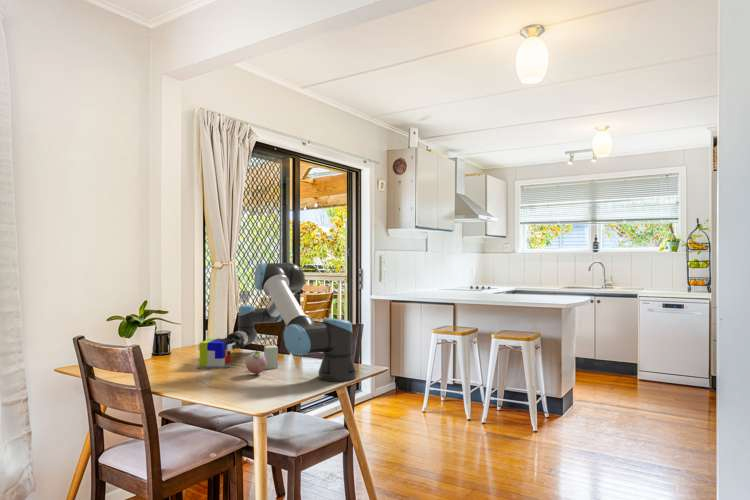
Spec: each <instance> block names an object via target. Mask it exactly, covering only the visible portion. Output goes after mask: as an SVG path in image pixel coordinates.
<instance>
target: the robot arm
mask: <svg viewBox="0 0 750 500" xmlns="http://www.w3.org/2000/svg"><path fill="white" fill-rule="evenodd" d="M253 279H254V287H255V289H256V290H259V291H261V290H262V291H263V293H264V294H265V295H266V296H267V297H270V298H271V300H270V302H269V303H268V305H267V307H262V308H259V307H257V308H255V306H254V305H253V304H242V305H240V306H238V314H237V315H238V316H237V317H238V330H237V331H235V332H231V333H230V334H228V335H227V336H226V337H225V338H223V339H230V344H229V345H227V351H230V352H231V351H233V350H236V349H238V350H239V349H241V350H243V349H244V346H247V345H250V344H252V343H254V342H255V341H256V340H257V338H258V333H257V331H256V329H255V325H256V324H266V323H267V324H270V323H273V324H274V323H278V322H280V323H281V322H282V320H283V322H284V324H285V327H284V328H285V329H284V330H283V341H284V345H285V348H286V351H288V353H289V354H291V355H293V356H308V355H313V354H314V355H315V354H321V353H322V359H321V362H320V363H321V364H320V366H319V369H318V376H317V377H318V379H320V380H321V381H325V382H326V381H327V382H346V381H352V380H355V379H356V378H357V369H356V366H355V363H354V360H353V333H354V332H353V324H352V323H353V322H351V321H350V320H346V319H341V318H340V319H339V318H331V317H324V318H323V320H322V322H315V321H314V319H313V318H312V317H311V316H310V315H308V314H305V312H304V310H303V308H302V307H301V305H300V304H299V302H298V300H297V298H296V296H295V295H296V294H297V293H299V292H300V291H301V290H302V289H303V287H304V285H305V281H306V276H305V273H304V271H303V269H302V268H301V267H300V266H299V265H297V264H295V263H292V262H265V263H264V262H262V263H258V264H257V265H256V268H255V271H254V277H253ZM217 339H221V338H220V337H218V338H217ZM203 341H204V340H202V341H201V342H203ZM198 351H200V343H198Z"/></svg>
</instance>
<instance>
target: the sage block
mask: <svg viewBox="0 0 750 500" xmlns="http://www.w3.org/2000/svg"><path fill="white" fill-rule="evenodd" d="M263 347H264V348H263V351H264V353H263V355H264V356H265V358H266V361H267V363H266V367H265V370H270V369H271V370H274V368H275V369H278V368H279V347H278V346H277V345H276V344H275V345H264V346H263Z"/></svg>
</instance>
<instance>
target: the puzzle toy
mask: <svg viewBox="0 0 750 500" xmlns="http://www.w3.org/2000/svg"><path fill="white" fill-rule="evenodd" d="M202 341H203V342H202ZM202 341H200V342H199V344H200V350H199V365H200V366H224V365H226V364H227V363H229V362H230V360H231V351H227V345H229V344H230V339H224V338H220V339H218V338H216V339H215V338H207V339H205V340H202Z"/></svg>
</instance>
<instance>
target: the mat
mask: <svg viewBox="0 0 750 500" xmlns="http://www.w3.org/2000/svg"><path fill="white" fill-rule="evenodd" d="M232 363H233V360H231V359H230V362H229V363H227V364H226V365H224V366H200V364H199V365H198V367H197V369H198V370H208V369H230V367H231V365H232Z"/></svg>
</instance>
